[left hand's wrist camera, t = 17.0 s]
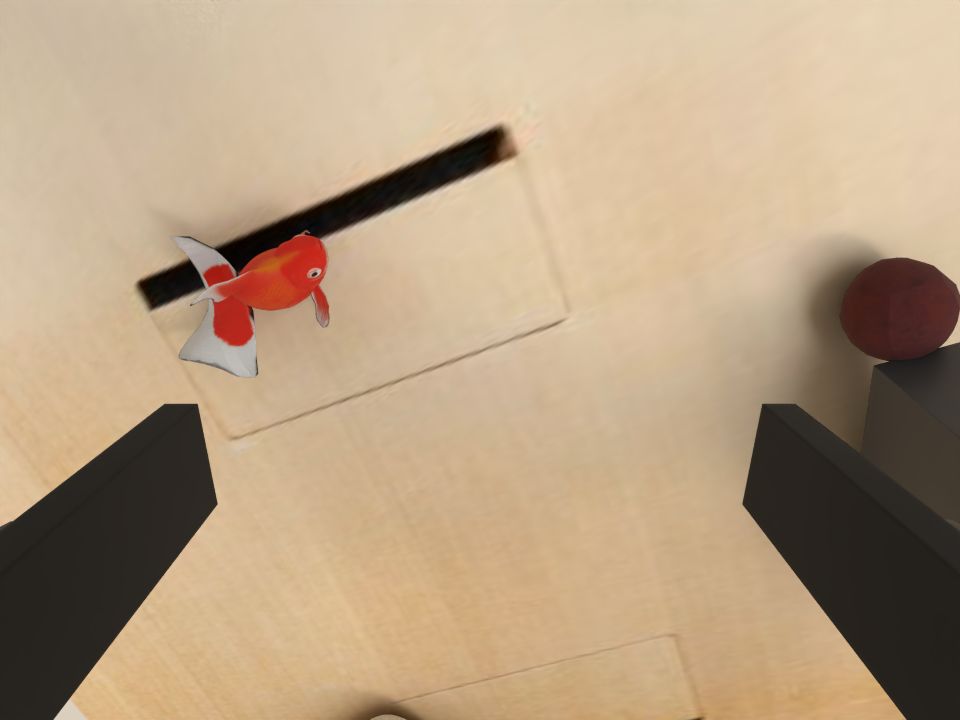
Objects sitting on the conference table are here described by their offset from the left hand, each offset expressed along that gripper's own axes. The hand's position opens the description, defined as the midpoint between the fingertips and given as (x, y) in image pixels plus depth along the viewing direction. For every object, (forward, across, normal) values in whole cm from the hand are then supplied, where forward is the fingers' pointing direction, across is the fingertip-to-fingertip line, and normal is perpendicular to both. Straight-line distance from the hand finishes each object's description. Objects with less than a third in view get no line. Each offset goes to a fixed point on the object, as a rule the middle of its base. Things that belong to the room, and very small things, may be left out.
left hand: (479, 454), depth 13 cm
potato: (+32, +31, -4) cm, 45 cm away
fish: (+32, -17, -3) cm, 36 cm away
